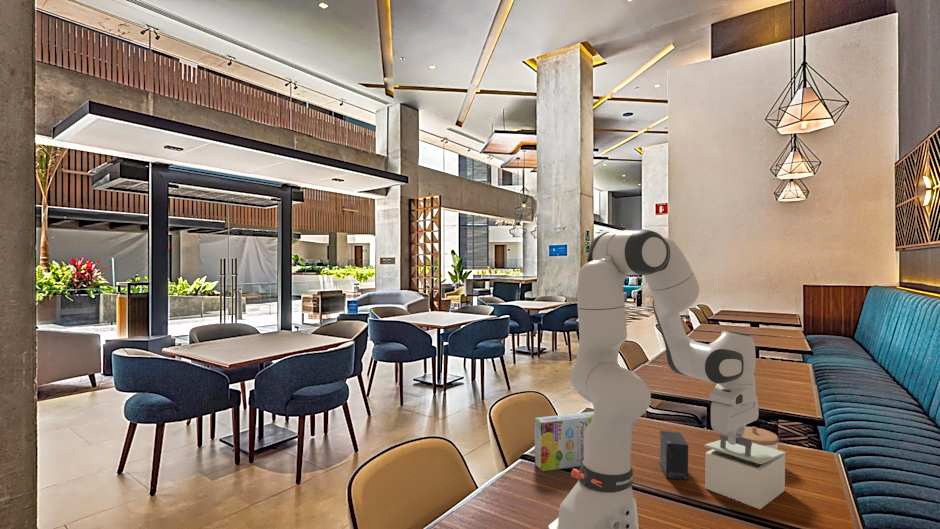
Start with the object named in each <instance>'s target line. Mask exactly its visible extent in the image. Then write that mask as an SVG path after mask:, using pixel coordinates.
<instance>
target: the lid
mask: <svg viewBox="0 0 940 529" xmlns="http://www.w3.org/2000/svg"><path fill="white" fill-rule="evenodd" d="M736 437H737V438H738V440H737V444H735V445H732V444H729V443H728V436H727V434H722V433H720V434H719V439H718V440H715V441H712V442H708V443H704V446H703V447H705V448H707V449H710V450H712V449H713V450H717V451H720V452H723V453H726V454H729V455H733V456H736V457H739V458H742V459H745V460H749V461H752V462H755V463H758V464H763V463H765V462H768V461H770V460H773V459H775V458H778V457H781V456H783V455H785V456H786V454H787V452H786V451H783V450H779V449H778V450H776V449H773V448H769V447H766V446H762V445H759V444H755V443H752V440H750V439H746V438H743V437H739V436H736Z"/></svg>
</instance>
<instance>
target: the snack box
mask: <svg viewBox="0 0 940 529" xmlns="http://www.w3.org/2000/svg"><path fill="white" fill-rule="evenodd" d="M593 413H594V411H587V412H577V413H567V414H560V415H559V414H558V415H549V416H539V417H534V418H533V419H534V420H533V422H534V426H533V427H534V465H535V466H536V467H537V468H538V469H539V470H540V471H541V472H546V471H547V472H548V471H554V470H561V469H562V470H563V469H569V468H578V467H581V465H582V462H583V460H584V438H583V434H584V430H585V428H586V427H587V426H588V425H590V424H591V421H592V418H593Z"/></svg>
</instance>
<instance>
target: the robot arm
mask: <svg viewBox="0 0 940 529" xmlns="http://www.w3.org/2000/svg"><path fill="white" fill-rule="evenodd" d="M586 261H587V262H586V263H584V264H583V265H582V266H581V267H580V270H579V271H578V276H577V287H576V288H577V289H576V292H577V293H576V296H577V297H576V300H577V302H576V304H577V318H578V319H577V320H578V332H579V335H578V336H579V338H578V348H577V354H576V359H575V362H573V364H572V365H571V367H570V370H569V375H568V376H569V378H568V379H569V382H570V384H571V386H572V388H573V389H574V391H576V393H577V394H578V395H579V396H580V397H581V398H583V399H584V400H586V401H588V402H589V403H590V404H592V406H593V412H594V413H593V418H592V421H591V424H590V425H588V426H587V427H586V428H585V430H584V434H583V438H584V460H583V462H582V465H581V466H580V468H579V469H577V468H576V467H573V469H572V471H571V473H570V475H571V477H572V478H574V479H576V480H577V482H576V483H575V484H574V486H573V487H572V489H571V490H570V491H569V493H567V495H566V497H565V498H564V499H563V500H562V502H561V503H560V504H559V510H558V517H557V518H556V519H554V521H552V522H550V523H549V524H548V526H547V529H640V528H639V518H638V507H637V501H636V498H635V497H636V496H635V495H634V492H633V487H632V486H633V483H634V473H633V472H634V471H633V469H634V468H633V466H632V463H631V461H632V457H631V455H632V438H633V437H632V436H633V431H634V428H635V426H636V422H637V420H638V419H639V418H641V417H642V416H643V415H644V414H645V413H646V412H647V411H648V409H649V407H650V404H651V399H652V398H651V397H652V394H651V390H650V387H649V385H648V384H647V383H646V382H645V381H644V380H643V379H642V378H641V377H640V376H639V375H638V374H636V372H633V371H632V370H630V369H627V368H625V367H623V366H620V365H619V361H618V360H619V359H618V357H619V351H620V349H621V346H622V345H623V344H624V343H625V342H626V340H627V337H628V328H627V316H626V315H627V314H626V302H625V294H624V284H625V280H626V278H627V276H639V275H640V276H644V278H645V281H646V283H647V285H648V288H649V289H650V292H651V295H652V296H653V297H652V298H653V299H652V308H653V309H652V310H653V313H654V317H655V320H656V322H657V326H658V328H659V330H660V334H661V337H662V339H663V342H664V343H663V344H664V346H665V354H666V359H667V360H666V361H667V363H668V366H669V368H670V369H671V370H672V371H673V373H675V374H677V375H682V376H685V377H691V378H694V379H697V380H700V381H704V382H709V383H711V384H716V385H715V387H714V388H713V389H712V390H710V392H709V401H712V402H711V404H710V426H711V428H712V431H714V432H716V433H722V434H727V436H728V443H729V444H732V445H735V444H737V440H738V438H737V437H736V436H739V437H743V435H744V432H745V429H746V427H747V425H748V424H751V423H753V422H756V421H757V420H759V414H760V413H759V411H760V410H759V399H758V396H757V394H756V377H755V375H754V374H755V369H756V366H757V365H756V363H757V362H756V358H757V357H756V346H755V341H754V339H753V337H752V336H751V335H750V334H747V333H744V332H738V331H731V330H723V331H721V333H720V335H719V336H718V337H717V339H715V340H714V341H713V342H710V343H708V344H707V343H705V342H704V343H703V342H699V341H698V342H697V341H695V340H693V339H692V338H690V337H689V336H688V335H687V333H686V331H685V328H684V325H683V322H682V319H681V315H680V313H682V312H684V311H686V310H687V309H689V308H690V307H691V306H693V305H694V304H695V302H696V301H697V299H698V297H699V295H700V286H699V282H698V279H697V277H696V275H695V272H694V270H693V269H692V267H691V264H690V263H689V260H688V259H687V258H686V256H685V254H684V253H683V251H682V250H681V248H680V247H679V246H678V245H677V243H676V242H675V241H674V240H673V239H671V238H668V237H664V236H662V235H661V234H660V233H658V232H656V231H655V230H650V229H638V230H636V229H618V230H615V231H606V232H603V233H601V234H598V235H597V236H596V237H595V238H594V239H593V240H592V241H591V243H590V246H589V248H588V256H587V259H586Z"/></svg>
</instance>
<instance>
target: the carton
mask: <svg viewBox="0 0 940 529" xmlns="http://www.w3.org/2000/svg"><path fill="white" fill-rule="evenodd" d="M704 456H705V457H704V460H705V461H704V462H705V463H704V464H705V465H704V466H705V467H704V468H705V469H704V471H705V473H704V476H705V477H704V484H705V485H704V488H705V489H706V490H709V491H710V492H713V493H716V494H718V495H722V496H724V497H726V496H727V498H729V499H731V498H732V500H734V499H735V500H734V501H737V502H739V501H740V503H743V504H745V505H747V506H750V507H753V508H756V509H758V510H761V509H763V508H764V507H765V506H766V505H768V504H769V503H770V502H772V501H773V500H774V499H775V498H777V497H779V496H780V495H782V493H784V492H785V490H786V482H785V481H786V455H783V456H781V457H778V458H775V459H773V460H770V461H768V462H765V463H763V464H758V463H755V462H752V461H749V460H745V459H742V458H739V457H736V456H733V455H729V454H726V453H723V452H720V451H717V450H713V449H710V450H707V451H706V452H705V454H704Z"/></svg>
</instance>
